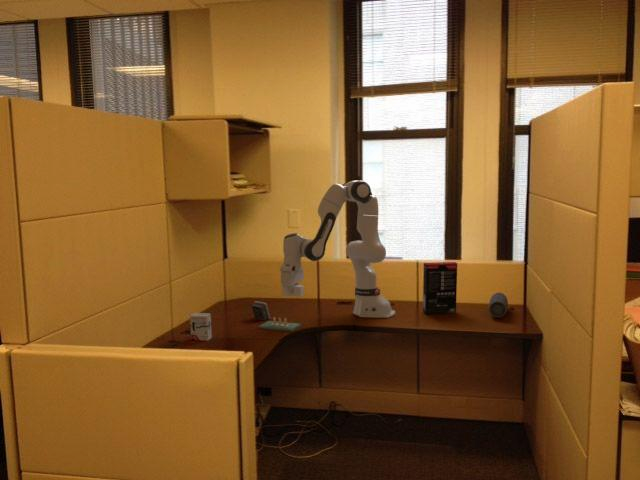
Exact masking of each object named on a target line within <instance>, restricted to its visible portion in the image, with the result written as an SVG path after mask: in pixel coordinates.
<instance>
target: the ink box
mask: <svg viewBox="0 0 640 480" xmlns="http://www.w3.org/2000/svg"><path fill="white" fill-rule="evenodd" d="M211 315H212V314H211V313H209V312H207V313H206V312H202V313H201V312H195V313H194V312H193V313H192V314H191V315H189V323H190V324H189V325H190V340H191V339H195V340H194V341H204V340H205V341H206V342H207V341H209V340H211V339H213V338H212V336H213V335H212V316H211Z"/></svg>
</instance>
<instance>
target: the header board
mask: <svg viewBox="0 0 640 480" xmlns="http://www.w3.org/2000/svg"><path fill="white" fill-rule="evenodd" d="M272 318H273V319H272V320H273V321H272V320H268V321H266V322H264V323H262V324H260V325H258V327H259V329H265V330H275V331H285V332H293V331H295V330H297V329H298V327H299V328H301V326H302V324H301V323H296V322H287V318H286V317H284V318H283V321H282V317H278V321H277V319H276V317H275V316H273V317H272Z"/></svg>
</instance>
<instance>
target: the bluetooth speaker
mask: <svg viewBox="0 0 640 480" xmlns="http://www.w3.org/2000/svg"><path fill="white" fill-rule="evenodd" d="M508 307H509V301H508V297H507V296H506V295H505V294H504V293H502V292H496V293H494V294H493V295H492V296H491V298H489V304H488V311H489V313H490V315H491V316H492V317H494V318H502V317H505V315H506V314H507V310H508Z"/></svg>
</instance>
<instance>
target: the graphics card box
mask: <svg viewBox="0 0 640 480" xmlns="http://www.w3.org/2000/svg"><path fill="white" fill-rule="evenodd" d="M457 283H458V263H457V262H455V261H445V262H444V261H443V262H441V261H439V262H424V263H423V283H422V285H423V286H422V290H423V291H422V292H423V293H422V312H424V314H426V315H436V314H437V315H438V314H439V315H440V314H456V313H457V290H458V289H457Z"/></svg>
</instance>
